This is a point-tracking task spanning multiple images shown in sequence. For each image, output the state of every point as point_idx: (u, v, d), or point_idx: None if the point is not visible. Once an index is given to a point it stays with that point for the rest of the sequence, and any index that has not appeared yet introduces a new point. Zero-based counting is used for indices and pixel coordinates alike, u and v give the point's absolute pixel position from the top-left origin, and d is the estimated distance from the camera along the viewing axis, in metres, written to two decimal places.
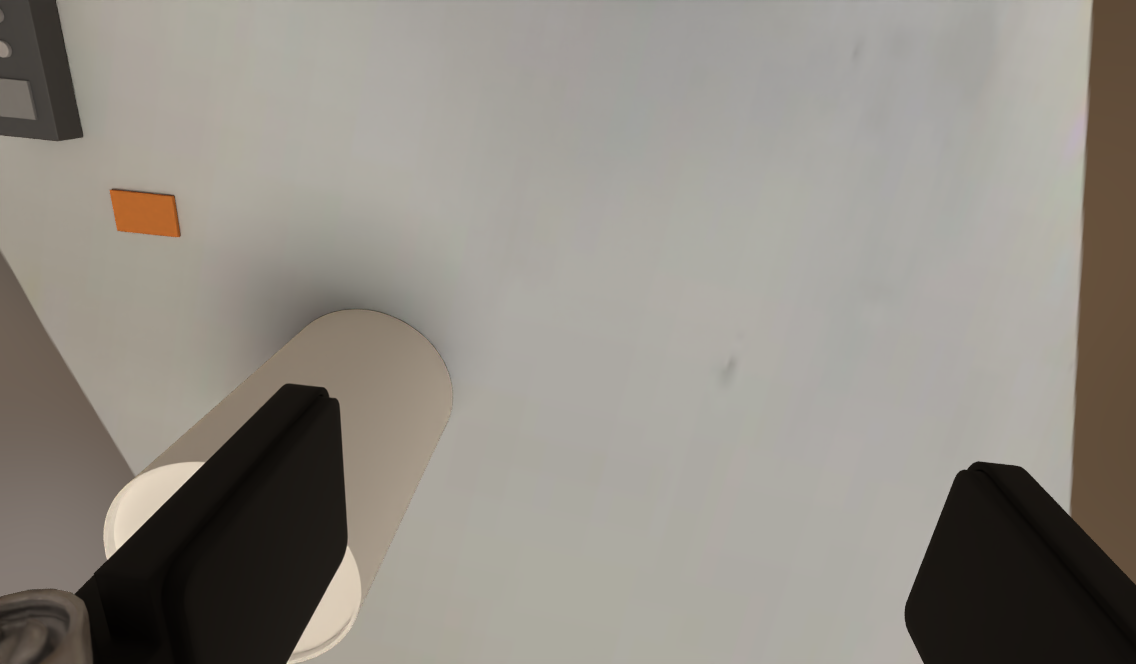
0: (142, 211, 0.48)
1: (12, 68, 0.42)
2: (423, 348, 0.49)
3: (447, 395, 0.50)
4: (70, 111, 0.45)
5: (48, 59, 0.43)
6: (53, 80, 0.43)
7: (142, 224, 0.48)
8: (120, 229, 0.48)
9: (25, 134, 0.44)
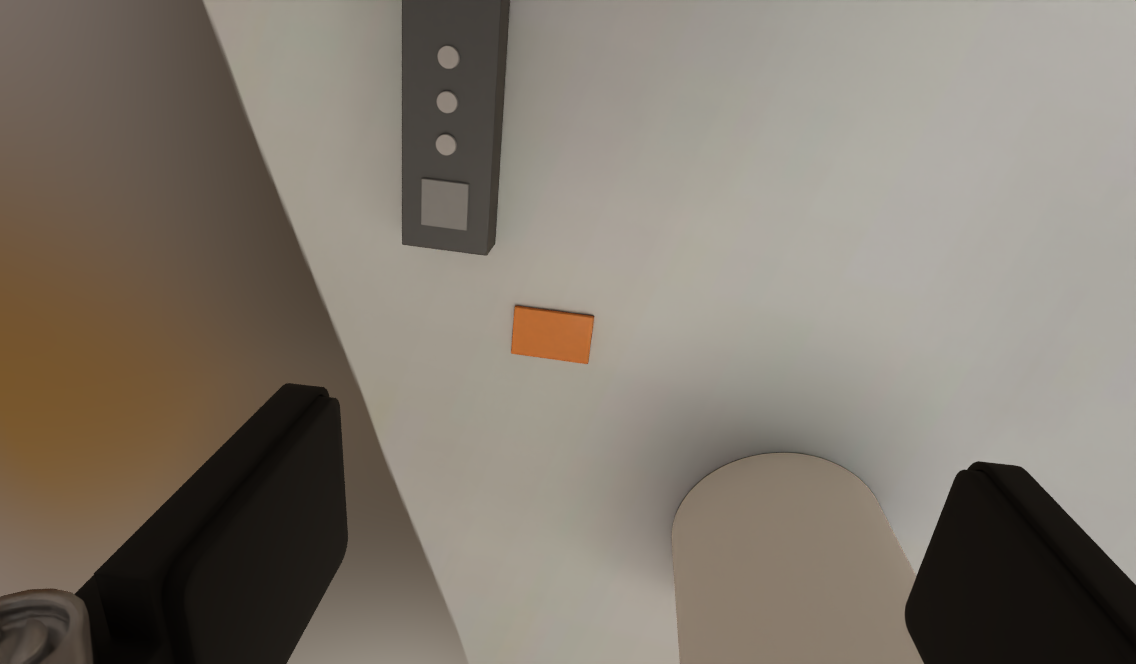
0: (550, 333, 0.38)
1: (451, 168, 0.33)
2: (878, 506, 0.40)
3: None
4: (494, 216, 0.35)
5: (494, 156, 0.33)
6: (493, 181, 0.34)
7: (546, 348, 0.39)
8: (515, 352, 0.39)
9: (445, 246, 0.35)
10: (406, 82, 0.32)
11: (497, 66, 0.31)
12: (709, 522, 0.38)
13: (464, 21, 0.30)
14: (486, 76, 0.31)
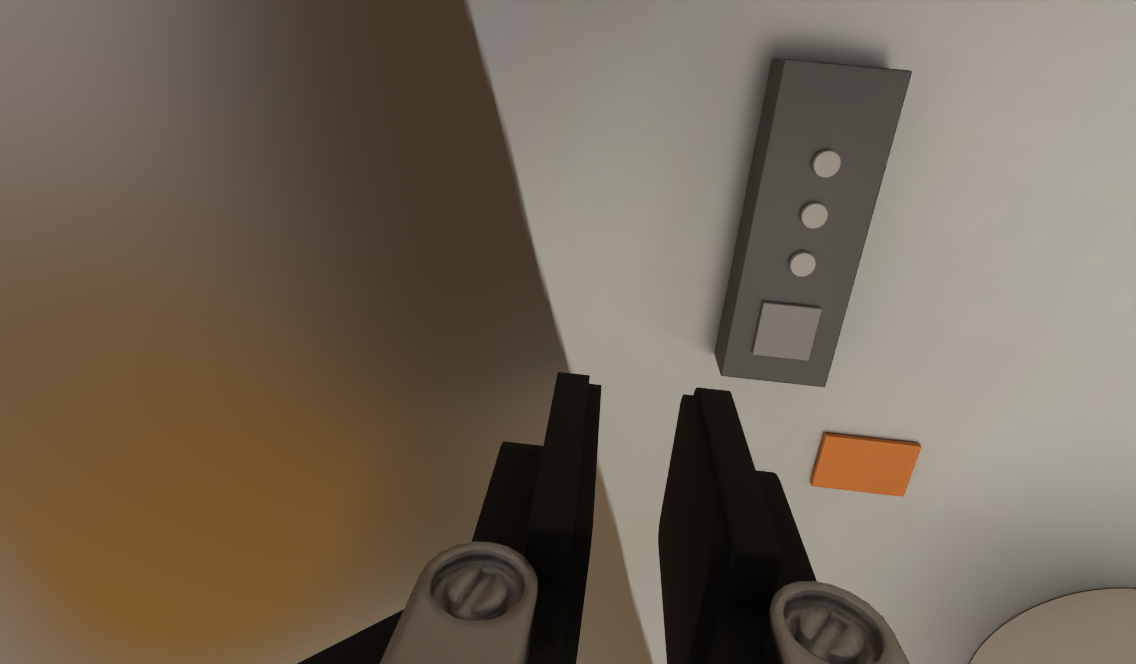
0: (864, 463, 0.32)
1: (800, 289, 0.27)
2: None
3: None
4: None
5: None
6: None
7: (855, 480, 0.33)
8: (817, 484, 0.33)
9: (775, 377, 0.29)
10: (763, 192, 0.26)
11: (883, 172, 0.25)
12: None
13: (853, 121, 0.25)
14: (868, 184, 0.25)
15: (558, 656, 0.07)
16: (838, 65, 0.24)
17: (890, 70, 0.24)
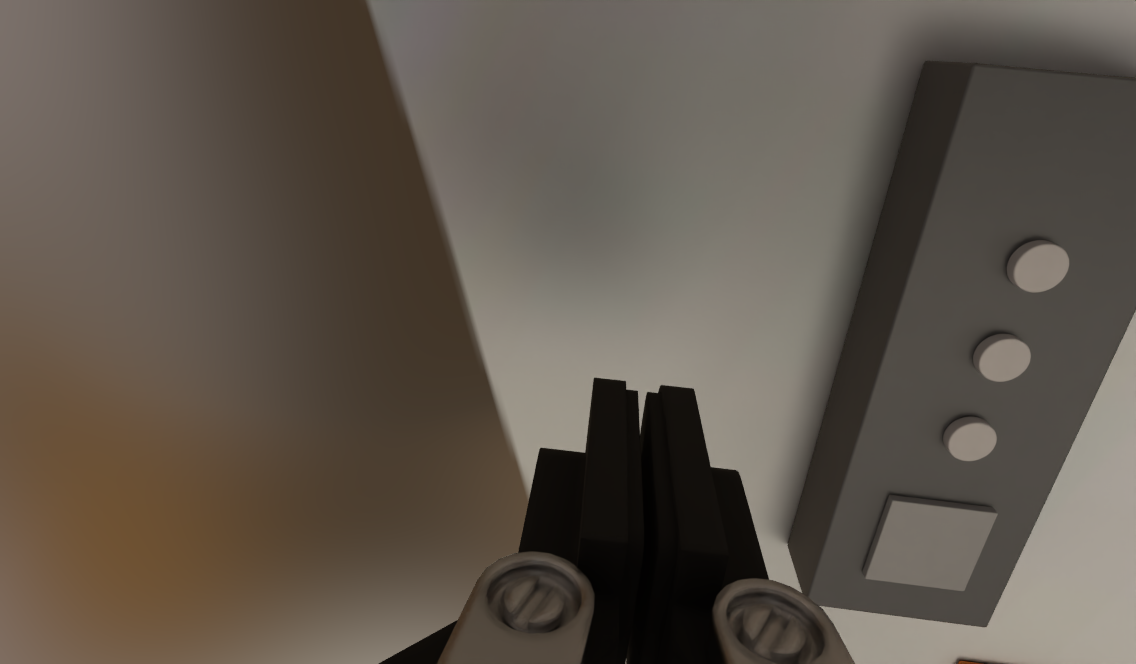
0: None
1: (960, 478, 0.15)
2: None
3: None
4: None
5: None
6: None
7: None
8: None
9: (900, 610, 0.17)
10: (906, 314, 0.14)
11: None
12: None
13: (1101, 186, 0.12)
14: (1113, 304, 0.13)
15: None
16: (1085, 76, 0.12)
17: None
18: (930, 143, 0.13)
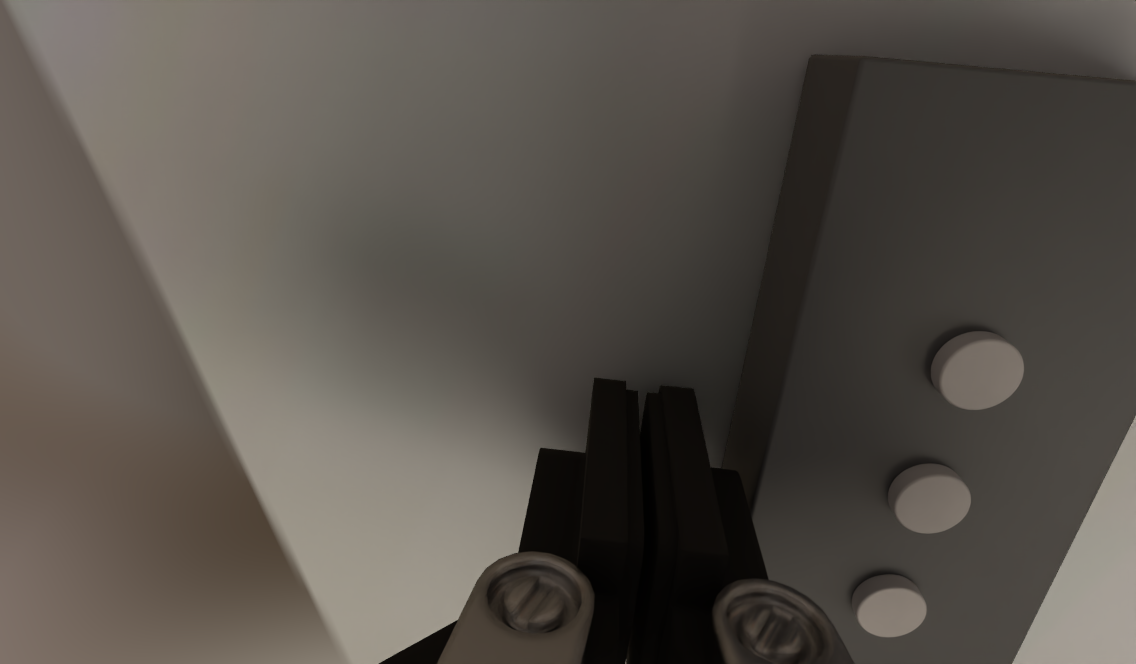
0: None
1: (881, 653, 0.11)
2: None
3: None
4: None
5: None
6: None
7: None
8: None
9: None
10: (785, 435, 0.09)
11: None
12: None
13: (1071, 251, 0.08)
14: (1093, 423, 0.09)
15: None
16: (1043, 77, 0.07)
17: None
18: (811, 181, 0.08)
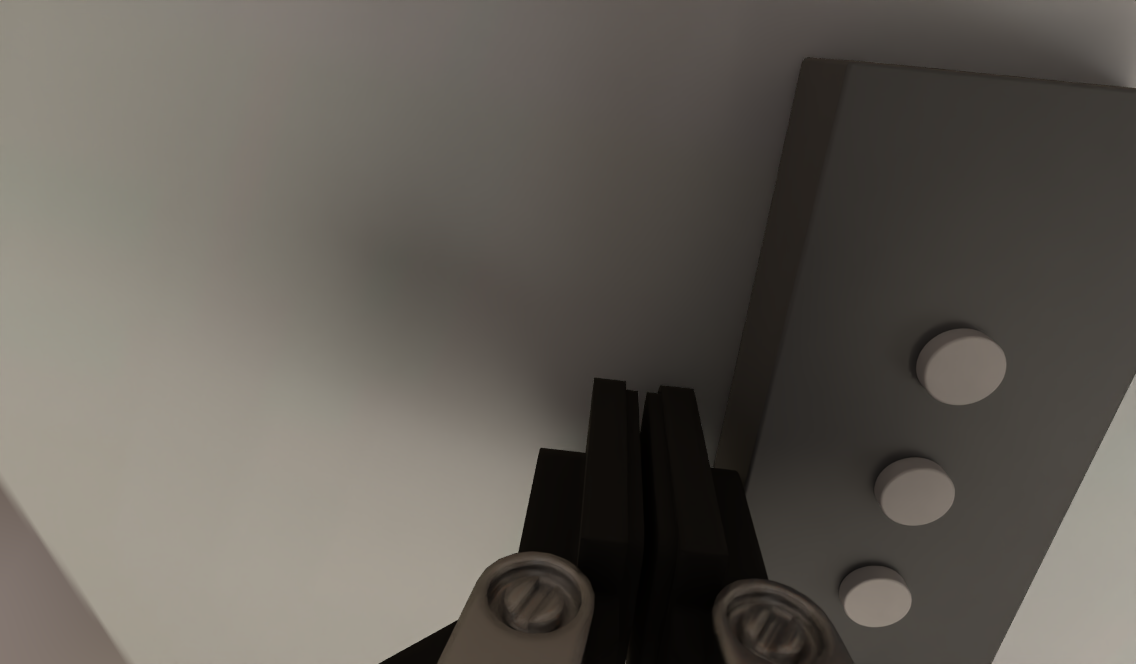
0: None
1: (867, 643, 0.11)
2: None
3: None
4: None
5: None
6: None
7: None
8: None
9: None
10: (775, 427, 0.09)
11: (1121, 390, 0.09)
12: None
13: (1053, 250, 0.08)
14: (1075, 419, 0.09)
15: None
16: (1025, 82, 0.07)
17: None
18: (802, 180, 0.09)
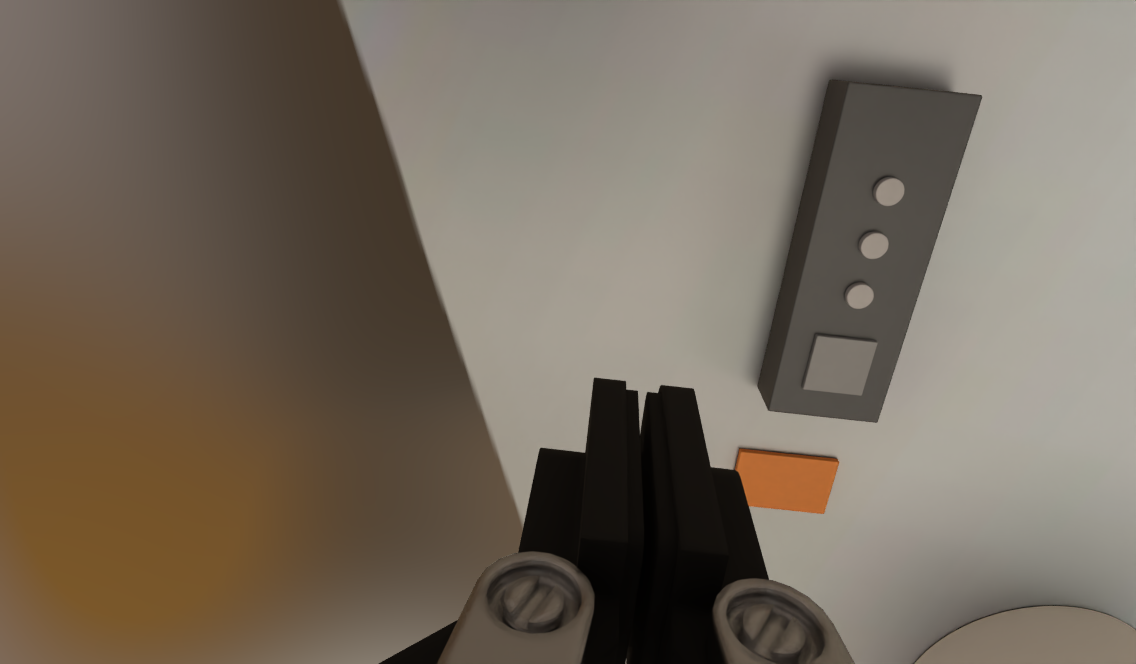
0: (781, 480, 0.31)
1: (856, 322, 0.26)
2: None
3: None
4: None
5: None
6: None
7: (774, 497, 0.32)
8: None
9: (825, 412, 0.27)
10: (820, 220, 0.24)
11: (947, 201, 0.24)
12: None
13: (918, 147, 0.23)
14: (931, 213, 0.24)
15: None
16: (905, 89, 0.22)
17: (959, 94, 0.23)
18: (831, 124, 0.24)
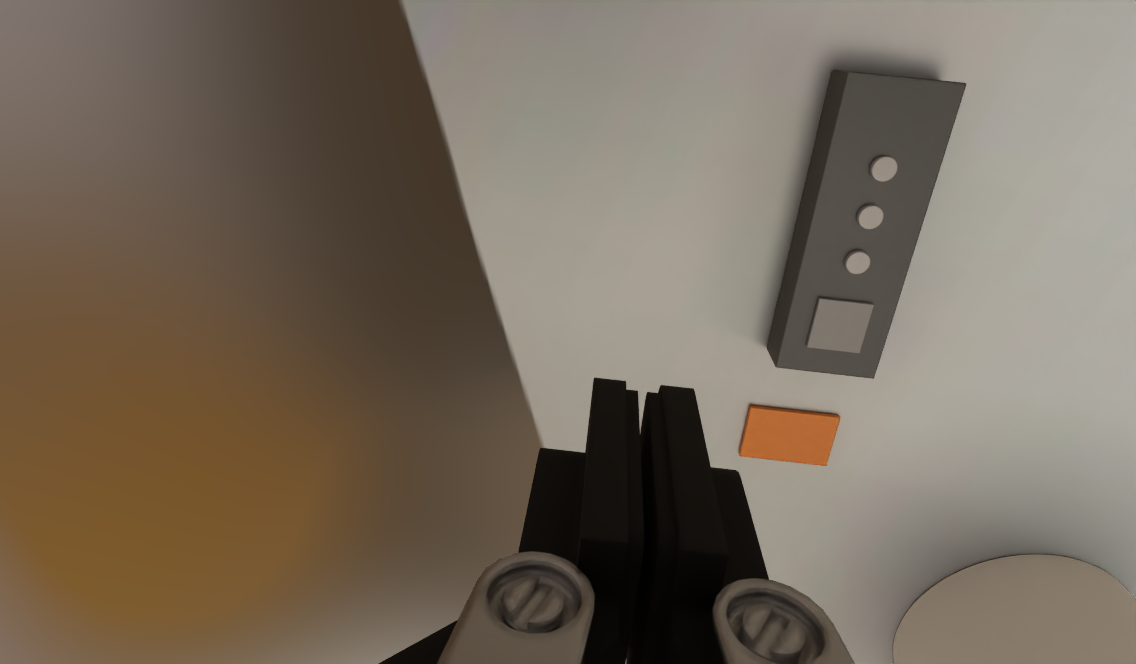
0: (788, 434, 0.34)
1: (854, 286, 0.29)
2: None
3: None
4: None
5: None
6: None
7: (780, 450, 0.35)
8: (745, 454, 0.35)
9: (827, 369, 0.31)
10: (823, 194, 0.28)
11: (935, 177, 0.27)
12: (973, 642, 0.34)
13: (910, 129, 0.26)
14: (921, 188, 0.27)
15: None
16: (898, 77, 0.26)
17: (946, 82, 0.26)
18: (832, 109, 0.27)
